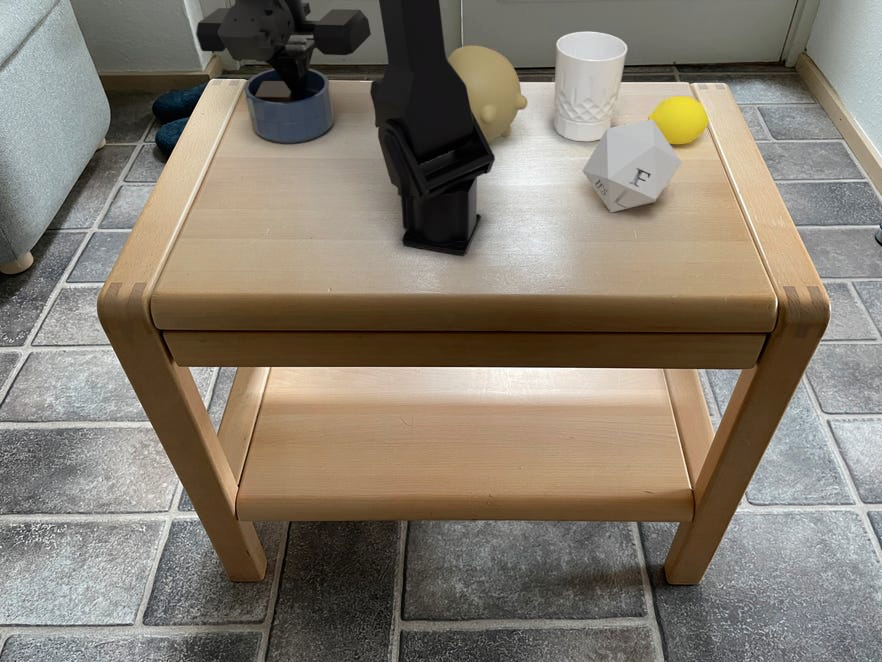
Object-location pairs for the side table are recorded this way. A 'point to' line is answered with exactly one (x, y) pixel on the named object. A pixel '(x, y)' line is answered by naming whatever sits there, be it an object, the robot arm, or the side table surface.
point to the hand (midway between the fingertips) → (302, 104)
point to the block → (274, 92)
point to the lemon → (680, 119)
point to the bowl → (291, 110)
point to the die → (631, 165)
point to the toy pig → (489, 88)
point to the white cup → (587, 83)
